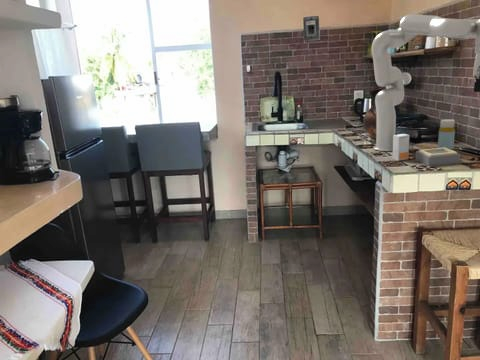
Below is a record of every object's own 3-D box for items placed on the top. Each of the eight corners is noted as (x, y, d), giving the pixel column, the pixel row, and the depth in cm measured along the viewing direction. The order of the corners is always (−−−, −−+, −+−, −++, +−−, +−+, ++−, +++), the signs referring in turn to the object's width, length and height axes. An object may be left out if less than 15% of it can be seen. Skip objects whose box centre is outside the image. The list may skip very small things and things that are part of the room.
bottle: (434, 149, 193) (436, 120, 188) (444, 147, 195) (446, 118, 191) (446, 152, 187) (448, 122, 182) (456, 149, 189) (459, 120, 184)
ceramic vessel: (400, 139, 221) (402, 87, 213) (372, 142, 220) (372, 90, 212) (384, 133, 242) (385, 85, 233) (358, 136, 240) (357, 88, 232)
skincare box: (398, 161, 180) (398, 136, 176) (392, 159, 183) (392, 135, 180) (408, 159, 181) (409, 134, 177) (402, 157, 185) (403, 133, 181)
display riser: (415, 159, 179) (416, 149, 178) (444, 156, 179) (445, 146, 178) (428, 166, 168) (429, 155, 166) (459, 162, 168) (460, 152, 166)
